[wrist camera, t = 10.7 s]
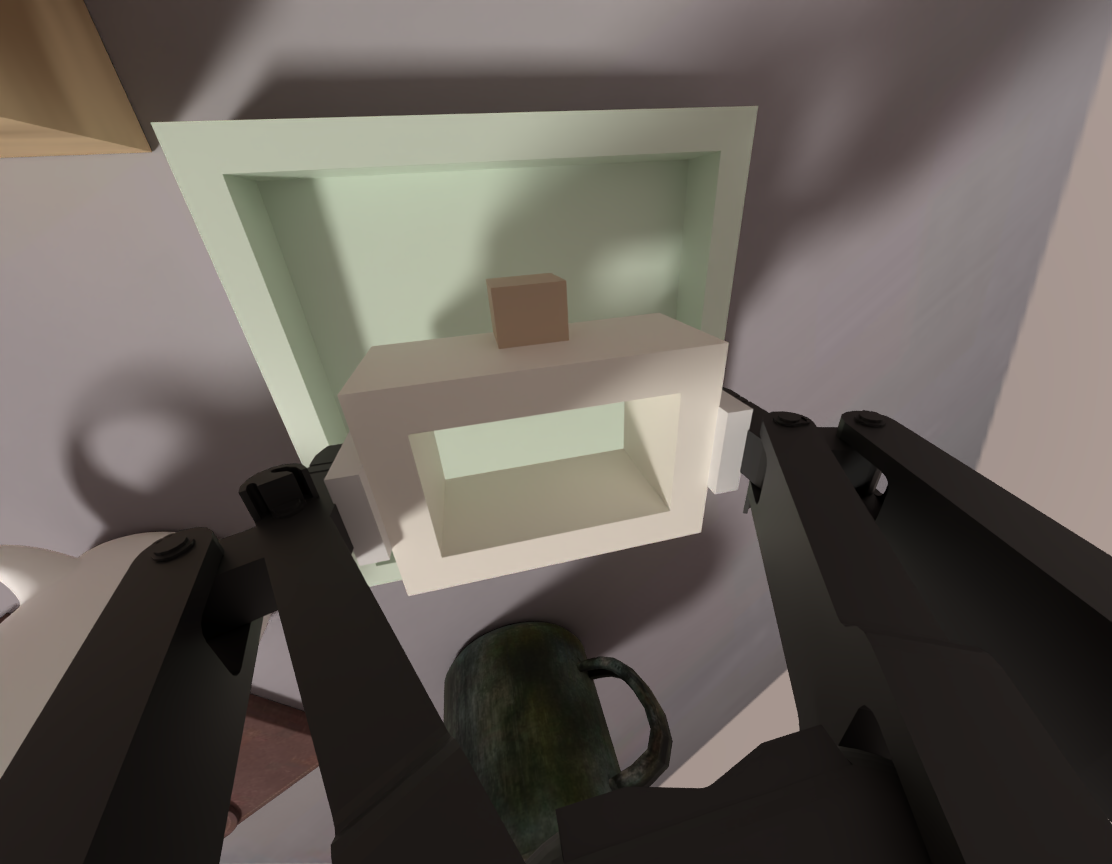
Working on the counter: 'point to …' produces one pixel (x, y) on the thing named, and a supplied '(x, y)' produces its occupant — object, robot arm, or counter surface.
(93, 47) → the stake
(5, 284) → the counter surface
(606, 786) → the mug
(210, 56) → the counter surface
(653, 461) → the ring
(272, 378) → the tray
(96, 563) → the mug
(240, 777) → the notebook
